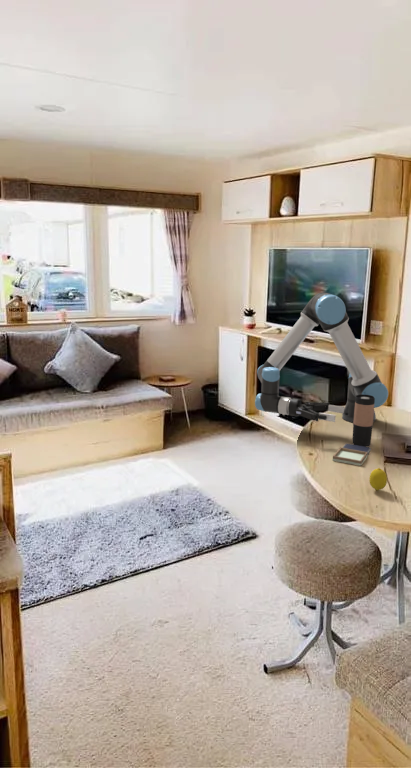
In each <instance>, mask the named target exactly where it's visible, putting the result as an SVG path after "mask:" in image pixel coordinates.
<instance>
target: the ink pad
mask: <svg viewBox="0 0 411 768" xmlns="http://www.w3.org/2000/svg"><path fill="white" fill-rule="evenodd" d="M342 448H347V449H352V450H358V451H364V452H368V454H367V456H368V455H369V453H370V452H371V450H372V448H371V447H370V446H368V447H364V446H358V445H354V444H353V443H344V445H343V446H342Z"/></svg>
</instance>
